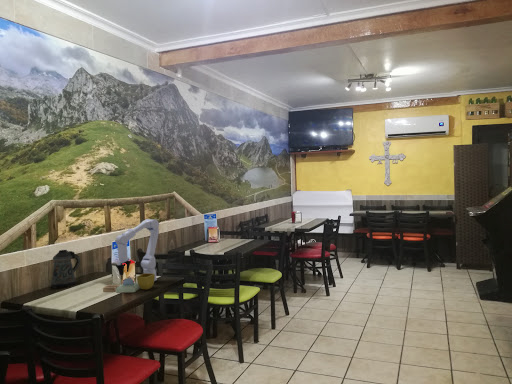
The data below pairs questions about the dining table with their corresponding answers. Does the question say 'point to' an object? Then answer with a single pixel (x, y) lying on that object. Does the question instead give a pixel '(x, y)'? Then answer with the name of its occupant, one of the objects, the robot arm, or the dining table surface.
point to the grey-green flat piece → (128, 288)
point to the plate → (128, 281)
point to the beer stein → (64, 269)
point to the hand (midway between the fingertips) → (124, 273)
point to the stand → (110, 288)
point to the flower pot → (145, 280)
